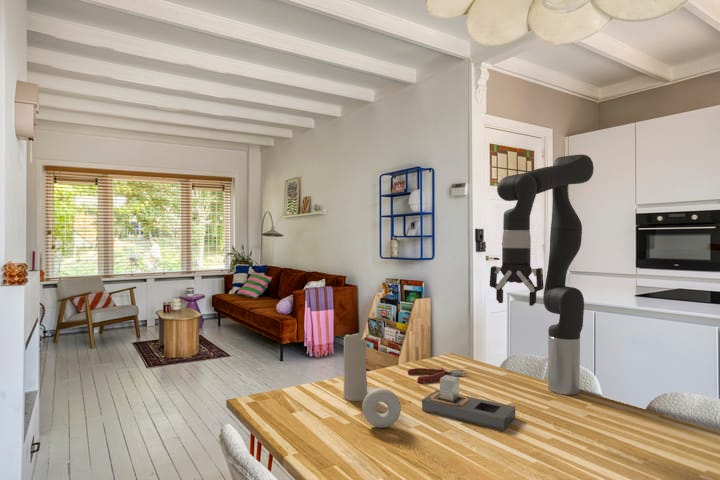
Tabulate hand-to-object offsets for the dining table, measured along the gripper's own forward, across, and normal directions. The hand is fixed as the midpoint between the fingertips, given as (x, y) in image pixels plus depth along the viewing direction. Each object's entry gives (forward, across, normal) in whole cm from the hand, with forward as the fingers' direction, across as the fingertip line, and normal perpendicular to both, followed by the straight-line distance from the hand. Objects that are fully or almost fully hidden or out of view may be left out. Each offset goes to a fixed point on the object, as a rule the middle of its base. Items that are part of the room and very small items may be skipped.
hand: (515, 304), depth 126 cm
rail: (+30, +10, +10) cm, 33 cm away
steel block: (+30, +16, +10) cm, 35 cm away
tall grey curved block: (+30, +43, +14) cm, 54 cm away
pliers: (+31, +30, -14) cm, 45 cm away
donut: (+30, +25, +31) cm, 50 cm away
